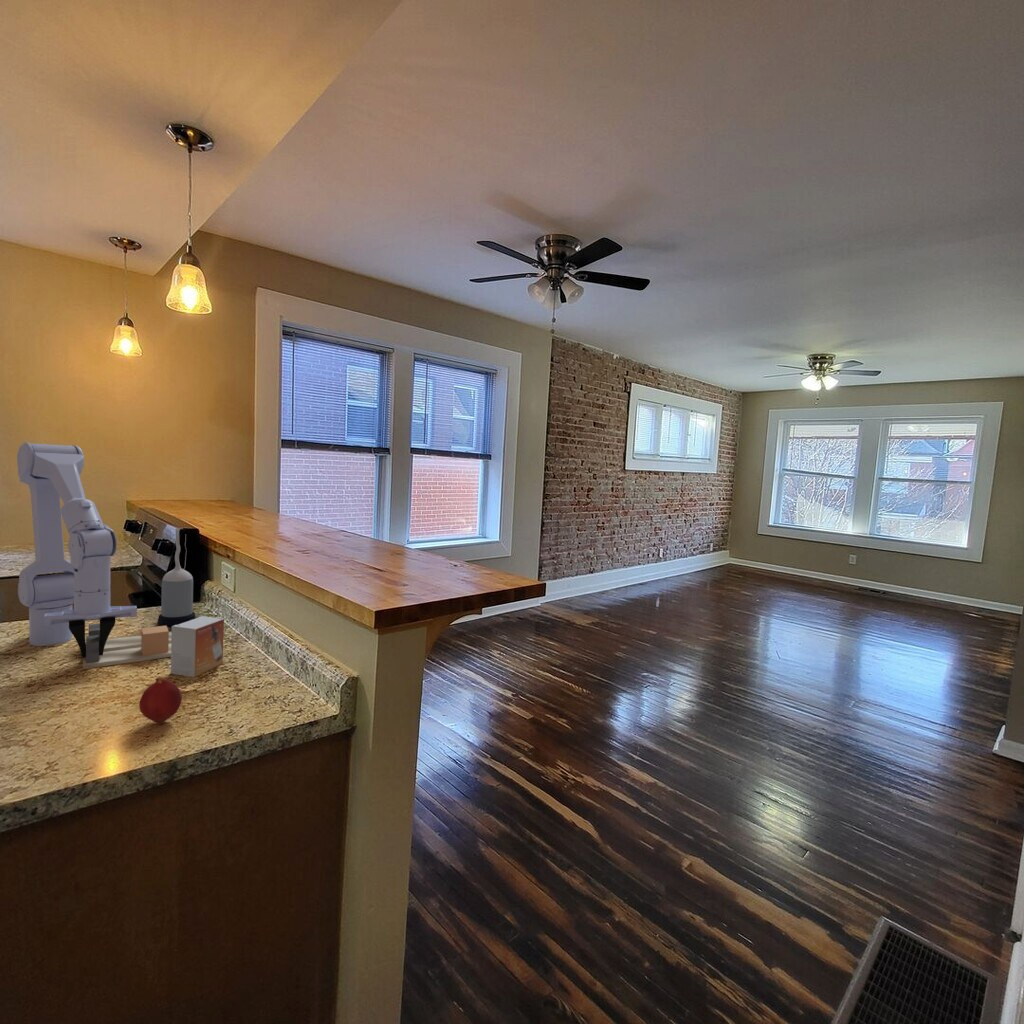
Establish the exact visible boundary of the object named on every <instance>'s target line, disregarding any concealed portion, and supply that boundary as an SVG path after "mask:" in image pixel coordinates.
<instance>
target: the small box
mask: <svg viewBox="0 0 1024 1024" xmlns="http://www.w3.org/2000/svg"><path fill="white" fill-rule="evenodd" d="M224 628H225V620H224V619H223V618H219V617H217V618H216V617H212V616H211V617H210V616H206V615H202V616H201V615H200V616H198V617H196V619H193V620H190V621H187V622H184V623H181V624H178V625H174V626H172V628H171V632H172V635H171V657H170V674H173V675H178V676H185V677H189V678H190V677H191V678H196V677H197V676H200V675H201V674H204V673H206V672H208V671H210V670H213V669H214V668H217V667H219V666H221V665H223V664H224V663H223V662H224V636H225V635H224V630H225V629H224Z"/></svg>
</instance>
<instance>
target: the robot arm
mask: <svg viewBox="0 0 1024 1024" xmlns="http://www.w3.org/2000/svg"><path fill="white" fill-rule="evenodd" d="M17 450H18V451H17V454H16V461H17V462H16V463H17V464H16V465H17V476H18V479H19V482H21V483H23V484H25V485H27V486H28V489H29V492H30V502H31V514H32V528H33V529H32V531H33V542H34V557H35V560H34V561H33V562H31V563H30V564H28V565H27V566H26V567H25V568H23V569H22V570H20V572H19V575H18V576H19V577H18V578H19V579H18V586H17V595H18V600H19V602H20V603H21V604H22V605H23V606H25V607H28V613H29V614H28V617H29V618H28V621H29V623H28V625H29V628H28V631H29V632H28V633H29V637H28V638H29V640H28V641H29V644H30V645H32V646H37V647H38V646H40V647H44V646H52V645H53V646H55V645H59V644H63V643H67V642H69V641H71V640H72V639H73V637H74V638H75V641H76V643H77V645H78V648H79V651H80V654H81V655H80V657H81V659H83V658H86V621H87V622H89V621H98V620H99V623H100V639H99V656H101V655H103V651H104V647H105V644H106V641H107V639H109V636H110V634H111V632H112V630H113V628H114V627H115V625H116V619H118V618H121V619H122V618H128V617H129V618H137V617H138V611H137V610H138V608H137V605H122V606H121V605H118V606H114V605H113V606H111V563H112V562H111V561H112V560H111V557H114V556H115V554H116V551H117V548H118V545H117V544H118V541H117V536H116V533H115V531H114V529H112V528H111V527H109V525H107V524H104V523H103V520H102V518H101V515H100V513H99V510H98V508H97V506H96V504H95V502H94V501H92V500H90V499H86V495H85V491H84V487H83V484H82V480H81V477H80V475H81V473H82V471H83V470H84V465H85V456H84V452H83V450H82V449H81V447H80V446H79V445H76V444H75V445H74V444H73V445H64V444H63V445H62V444H50V443H49V444H48V443H47V444H46V443H30V442H23V443H22V444H21V445H20V446H19V447H18V449H17ZM61 500H62V502H63V505H62V506H61ZM62 520H63V523H64V525H65V528H66V530H67V532H68V536H69V538H68V543H67V548H68V553H69V557H70V561H69V560H67V559H65V548H64V537H63V536H64V535H63V534H64V533H63V523H62ZM61 572H62V573H61ZM51 573H52V574H51ZM53 573H54V574H53ZM42 574H43V575H42ZM44 574H45V575H44ZM47 574H48V575H47Z"/></svg>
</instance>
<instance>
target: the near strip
mask: <svg viewBox="0 0 1024 1024" xmlns="http://www.w3.org/2000/svg"><path fill="white" fill-rule="evenodd" d="M85 642H86V658H82V670H85V669H92V668H101V667H107V666H113V665H114V666H115V665H121V664H128V663H135V662H142V661H148V660H149V661H150V660H158V659H163V658H164V659H165V658H171V644H169V646H168V652H164V653H157V654H149V655H143V654H142V650H141V647H139V648H132V649H124V650H116V651H108V652H103V655H101V656H99V635H94V636H89V635H88V636H87V635H85Z"/></svg>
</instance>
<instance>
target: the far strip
mask: <svg viewBox="0 0 1024 1024" xmlns="http://www.w3.org/2000/svg"><path fill="white" fill-rule="evenodd" d="M94 635H99V639H100V622H99V623H90V624H88V636H94ZM171 635H172V631H169V644H171ZM139 647H141V635H134V636H125V637H118V638H117V637H116V638H107V641H106V644H105V647H104V651H103V652H108V651H116V650H124V649H132V648H139Z"/></svg>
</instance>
